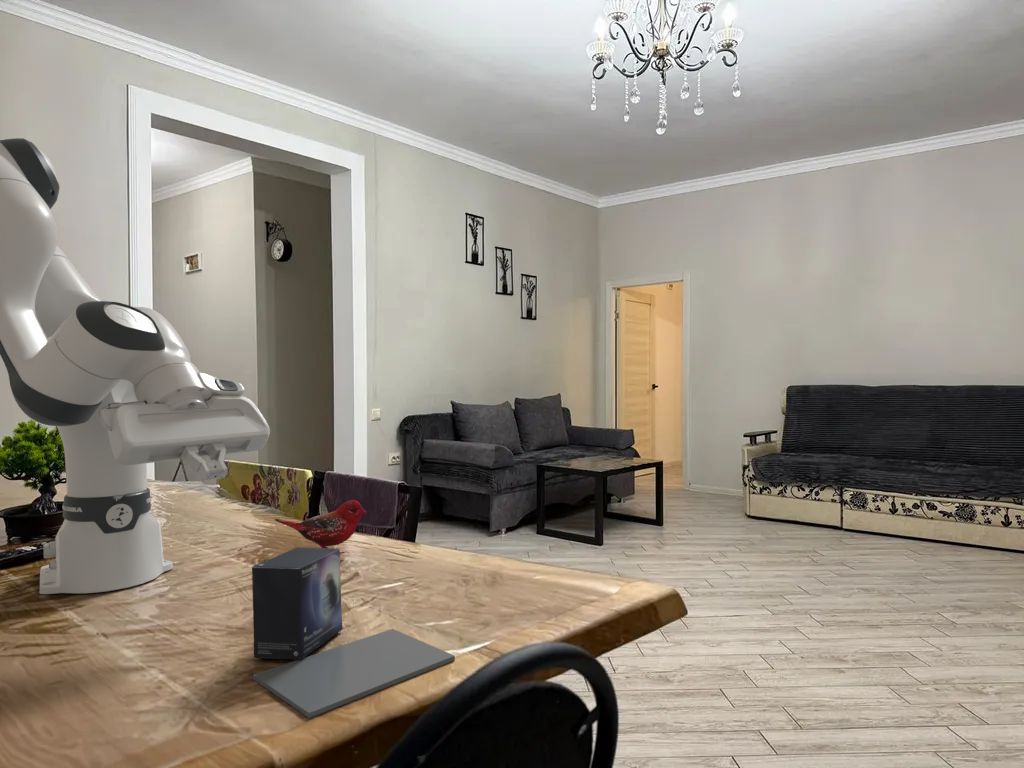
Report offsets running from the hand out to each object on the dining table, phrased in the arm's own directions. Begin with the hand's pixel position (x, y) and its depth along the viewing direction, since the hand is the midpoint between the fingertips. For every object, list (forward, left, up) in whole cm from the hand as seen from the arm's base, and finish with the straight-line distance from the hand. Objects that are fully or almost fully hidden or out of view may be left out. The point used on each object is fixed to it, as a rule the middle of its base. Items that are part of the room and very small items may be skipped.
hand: (215, 476), depth 90 cm
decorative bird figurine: (-22, +27, -20) cm, 40 cm away
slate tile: (+25, +5, -19) cm, 32 cm away
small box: (+14, +4, -19) cm, 24 cm away
